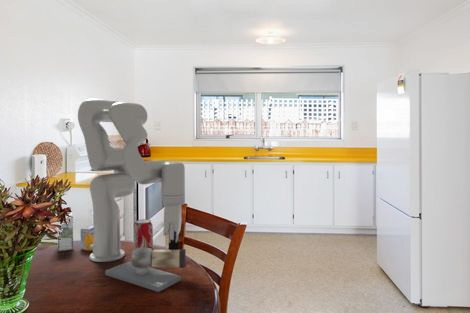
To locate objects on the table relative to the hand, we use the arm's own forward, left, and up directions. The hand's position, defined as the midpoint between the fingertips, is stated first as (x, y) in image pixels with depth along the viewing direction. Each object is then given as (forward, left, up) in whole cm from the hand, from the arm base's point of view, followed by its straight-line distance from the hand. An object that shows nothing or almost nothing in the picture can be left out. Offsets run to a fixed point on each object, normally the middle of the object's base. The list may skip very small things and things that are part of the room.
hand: (173, 253), depth 117 cm
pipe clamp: (-42, +4, -7) cm, 43 cm away
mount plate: (-7, -8, -7) cm, 12 cm away
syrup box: (-55, -4, -7) cm, 55 cm away
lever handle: (-2, -5, -3) cm, 6 cm away
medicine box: (-48, +3, -7) cm, 49 cm away
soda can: (-27, +12, -7) cm, 30 cm away
